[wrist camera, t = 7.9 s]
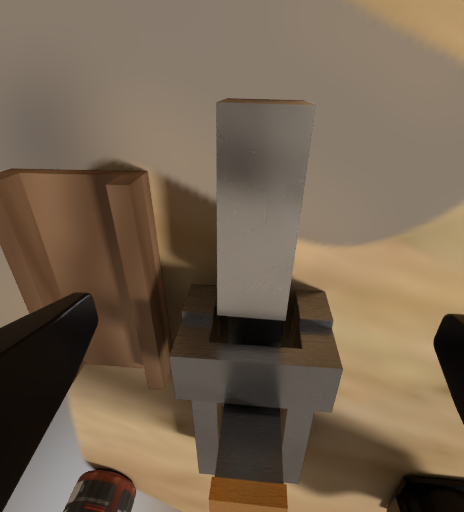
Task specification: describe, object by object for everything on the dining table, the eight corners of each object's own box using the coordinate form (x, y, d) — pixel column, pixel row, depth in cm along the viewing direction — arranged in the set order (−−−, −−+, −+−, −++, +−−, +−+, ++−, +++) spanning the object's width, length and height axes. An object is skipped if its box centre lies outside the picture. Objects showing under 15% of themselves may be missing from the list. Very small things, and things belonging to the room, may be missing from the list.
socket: (325, 292, 17) (345, 361, 13) (296, 450, 25) (302, 526, 21) (191, 284, 18) (168, 348, 13) (204, 441, 25) (192, 512, 21)
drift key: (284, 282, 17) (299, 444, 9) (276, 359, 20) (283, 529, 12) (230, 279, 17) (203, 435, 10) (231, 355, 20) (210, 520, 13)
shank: (303, 100, 13) (315, 105, 10) (282, 279, 17) (285, 320, 14) (228, 98, 13) (216, 102, 10) (225, 275, 17) (217, 315, 14)
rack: (147, 171, 15) (129, 185, 13) (173, 360, 21) (164, 389, 19) (11, 168, 15) (-27, 181, 13) (77, 353, 22) (58, 381, 20)
